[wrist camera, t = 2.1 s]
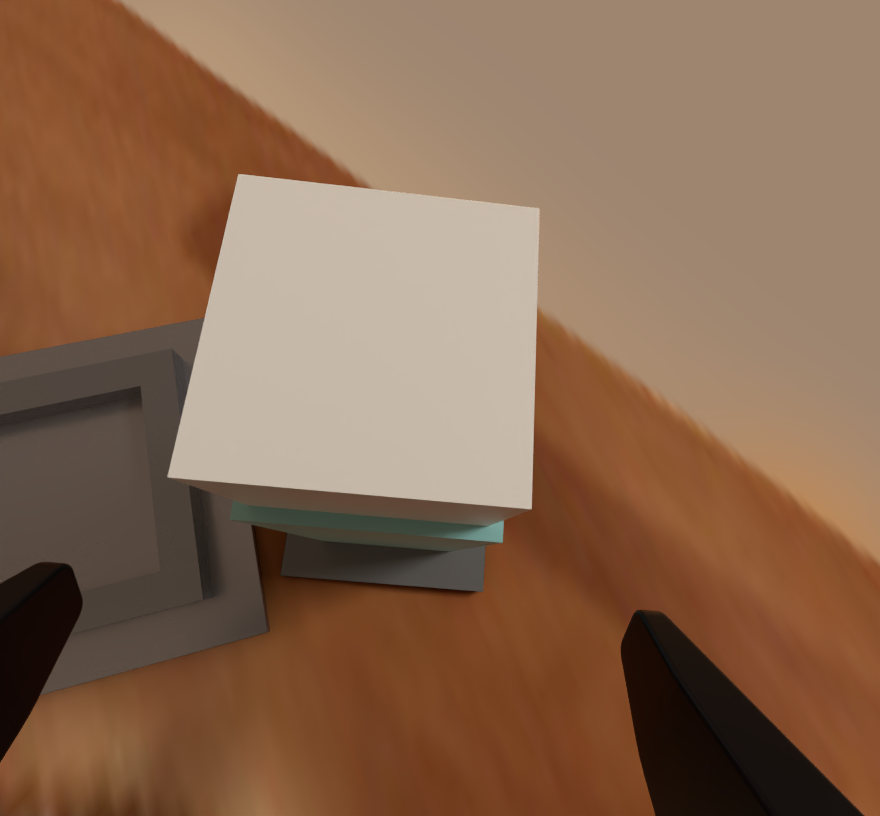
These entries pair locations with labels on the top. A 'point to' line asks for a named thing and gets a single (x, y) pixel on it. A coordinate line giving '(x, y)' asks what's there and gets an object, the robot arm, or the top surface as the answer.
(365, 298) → the peg
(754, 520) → the top surface
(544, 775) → the top surface
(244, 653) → the top surface
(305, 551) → the pad
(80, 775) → the top surface
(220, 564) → the socket
